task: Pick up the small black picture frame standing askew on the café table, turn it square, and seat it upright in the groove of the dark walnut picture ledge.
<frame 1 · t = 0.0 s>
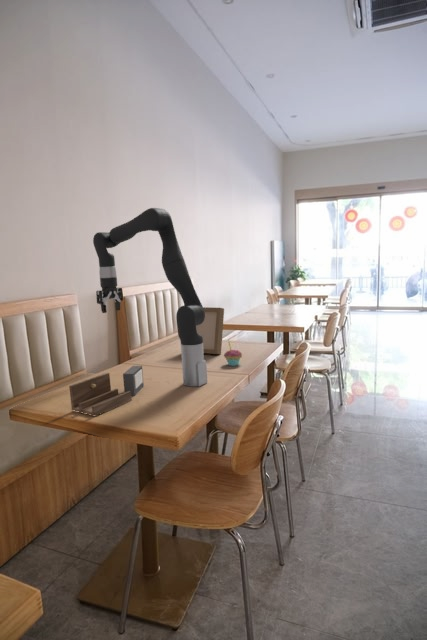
hand: (111, 311, 196), 29 cm above the table, fingers open, 8 cm apart
mini frame: (134, 391, 170), on the table
cupcake: (233, 364, 204), on the table
photo frame: (207, 351, 234), on the table
picture ledge: (102, 405, 155), on the table
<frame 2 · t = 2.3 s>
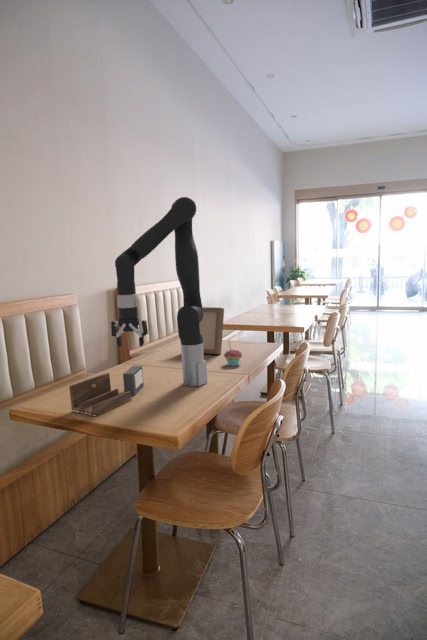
hand: (130, 346, 168), 18 cm above the table, fingers open, 8 cm apart
nothing on the table moved.
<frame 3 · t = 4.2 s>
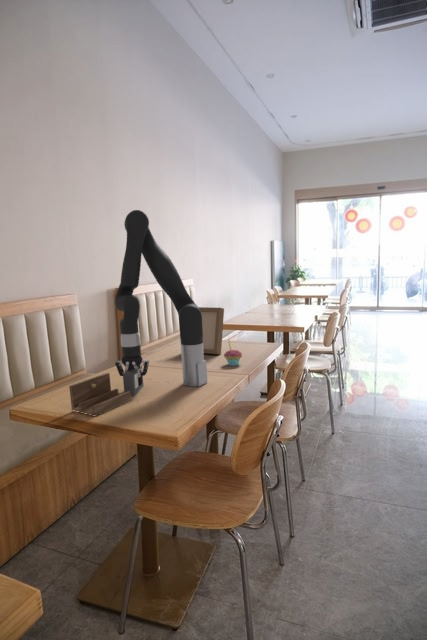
hand: (134, 385, 170), 2 cm above the table, fingers closed on mini frame, 4 cm apart
mini frame: (134, 391, 171), on the table, touching gripper
everything else where it was.
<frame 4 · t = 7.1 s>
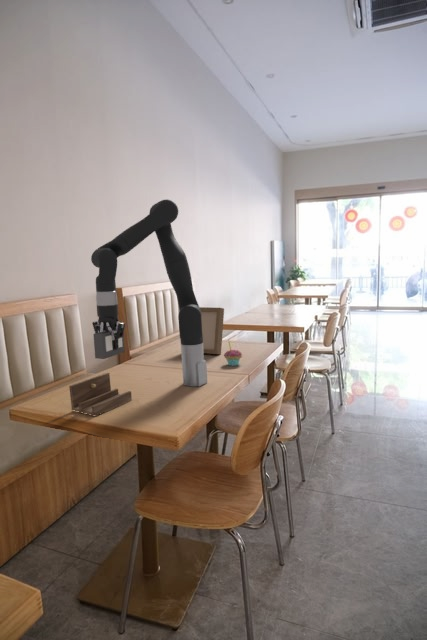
hand: (110, 348, 157), 20 cm above the table, fingers closed on mini frame, 4 cm apart
mini frame: (110, 355, 158), point 18 cm above the table, touching gripper
everything else where it was.
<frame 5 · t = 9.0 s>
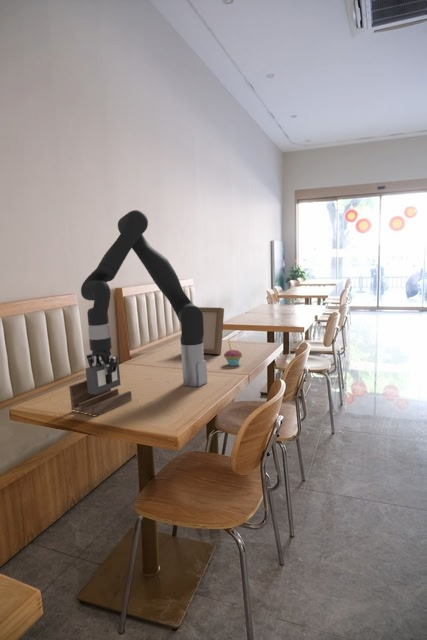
hand: (104, 382, 153), 9 cm above the table, fingers closed on mini frame, 4 cm apart
mini frame: (104, 389, 153), point 7 cm above the table, touching gripper
everything else where it was.
when the fingers open (5 cm above the table, at t = 10.2 s): mini frame stays where it is, resting on picture ledge.
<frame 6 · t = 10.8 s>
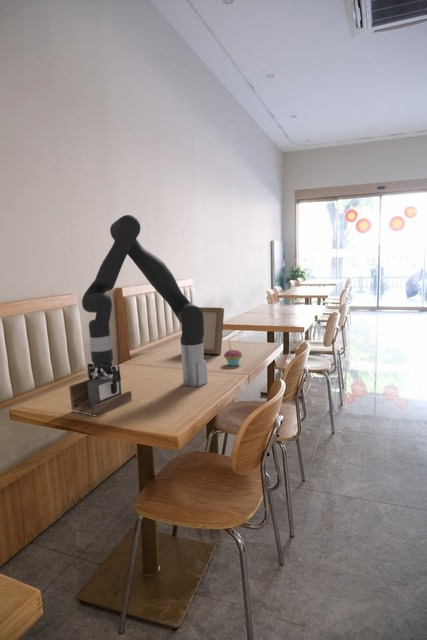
hand: (105, 392, 153), 6 cm above the table, fingers open, 8 cm apart
mini frame: (106, 402, 154), point 1 cm above the table, touching picture ledge
everything else where it was.
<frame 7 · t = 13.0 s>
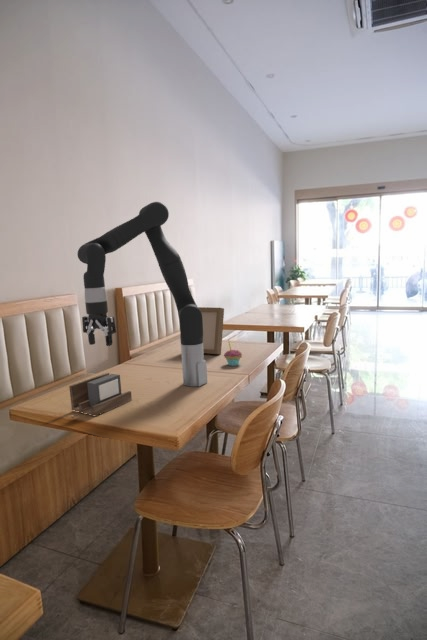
hand: (100, 344, 152), 23 cm above the table, fingers open, 8 cm apart
nothing on the table moved.
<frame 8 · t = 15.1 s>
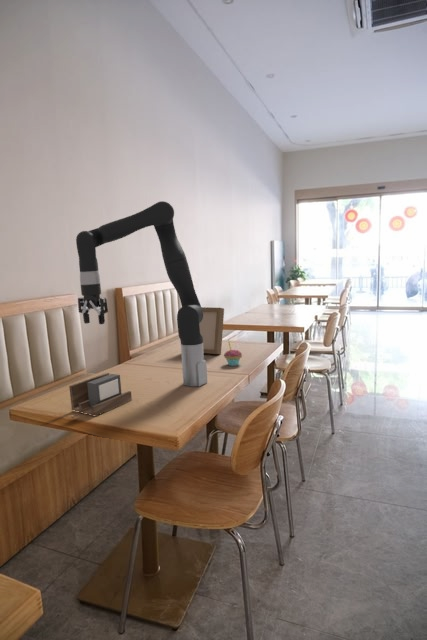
hand: (94, 323, 168), 28 cm above the table, fingers open, 8 cm apart
nothing on the table moved.
at the end: mini frame inside the target area on the picture ledge (0.1 cm from its centre), point 1.5 cm above the picture ledge's base; mini frame tilted 0°; the gripper is holding nothing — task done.
